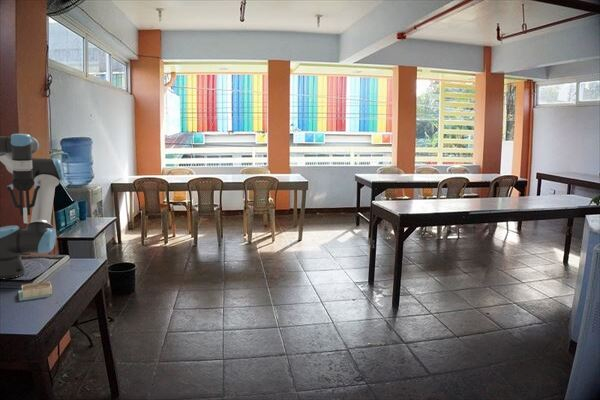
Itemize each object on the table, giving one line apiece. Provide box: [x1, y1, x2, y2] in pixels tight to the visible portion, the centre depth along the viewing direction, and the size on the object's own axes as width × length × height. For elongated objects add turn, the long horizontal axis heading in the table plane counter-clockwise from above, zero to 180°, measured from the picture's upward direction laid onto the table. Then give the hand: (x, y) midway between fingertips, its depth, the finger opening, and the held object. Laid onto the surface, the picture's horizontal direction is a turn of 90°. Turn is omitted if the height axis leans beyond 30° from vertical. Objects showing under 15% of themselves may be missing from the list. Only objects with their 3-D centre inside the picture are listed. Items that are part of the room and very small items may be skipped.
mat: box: [18, 289, 51, 302], centre depth 205 cm, size 11×12×1 cm
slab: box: [21, 280, 53, 298], centre depth 206 cm, size 8×3×11 cm
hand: (25, 222), depth 209 cm, fingers closed
